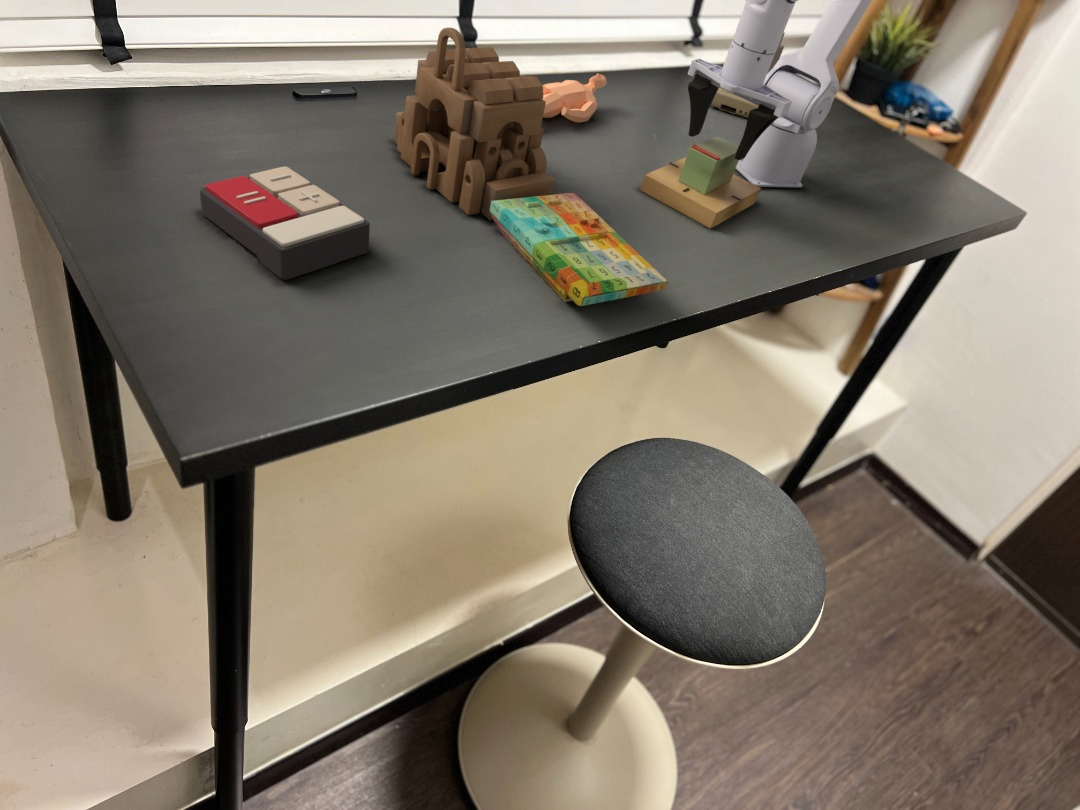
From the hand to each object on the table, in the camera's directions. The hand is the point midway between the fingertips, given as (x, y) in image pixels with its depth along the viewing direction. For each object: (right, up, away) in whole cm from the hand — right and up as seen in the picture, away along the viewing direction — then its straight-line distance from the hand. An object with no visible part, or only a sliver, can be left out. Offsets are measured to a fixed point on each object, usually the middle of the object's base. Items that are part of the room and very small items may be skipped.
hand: (716, 146), depth 109 cm
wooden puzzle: (-34, -6, -5) cm, 35 cm away
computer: (+15, +18, +37) cm, 44 cm away
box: (-1, -4, +3) cm, 5 cm away
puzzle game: (-21, -20, -17) cm, 34 cm away
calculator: (-52, -18, -24) cm, 60 cm away
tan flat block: (-1, -6, +5) cm, 8 cm away
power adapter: (+21, +32, +54) cm, 66 cm away
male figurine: (-23, +10, +17) cm, 30 cm away
